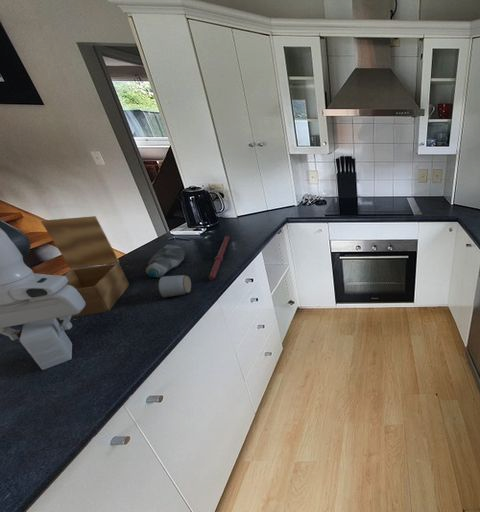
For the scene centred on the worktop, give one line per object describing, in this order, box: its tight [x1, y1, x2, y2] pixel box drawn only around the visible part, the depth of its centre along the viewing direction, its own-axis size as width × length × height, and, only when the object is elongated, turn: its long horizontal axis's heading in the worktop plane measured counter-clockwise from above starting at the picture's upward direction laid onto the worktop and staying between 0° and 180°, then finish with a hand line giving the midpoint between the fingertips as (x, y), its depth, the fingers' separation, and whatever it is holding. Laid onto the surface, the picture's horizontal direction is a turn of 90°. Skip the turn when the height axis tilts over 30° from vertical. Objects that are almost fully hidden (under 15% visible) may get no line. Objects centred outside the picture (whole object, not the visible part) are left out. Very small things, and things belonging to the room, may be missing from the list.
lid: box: [40, 215, 120, 270], centre depth 98 cm, size 18×14×5 cm
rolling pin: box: [208, 235, 231, 281], centre depth 129 cm, size 45×3×3 cm, turn 20°
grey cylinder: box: [158, 274, 192, 298], centre depth 102 cm, size 11×8×8 cm
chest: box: [56, 262, 130, 321], centre depth 96 cm, size 18×14×10 cm
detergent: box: [144, 243, 187, 279], centre depth 118 cm, size 13×7×25 cm
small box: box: [18, 318, 73, 371], centre depth 72 cm, size 8×6×10 cm
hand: (43, 333), depth 71 cm, fingers open, 8 cm apart
